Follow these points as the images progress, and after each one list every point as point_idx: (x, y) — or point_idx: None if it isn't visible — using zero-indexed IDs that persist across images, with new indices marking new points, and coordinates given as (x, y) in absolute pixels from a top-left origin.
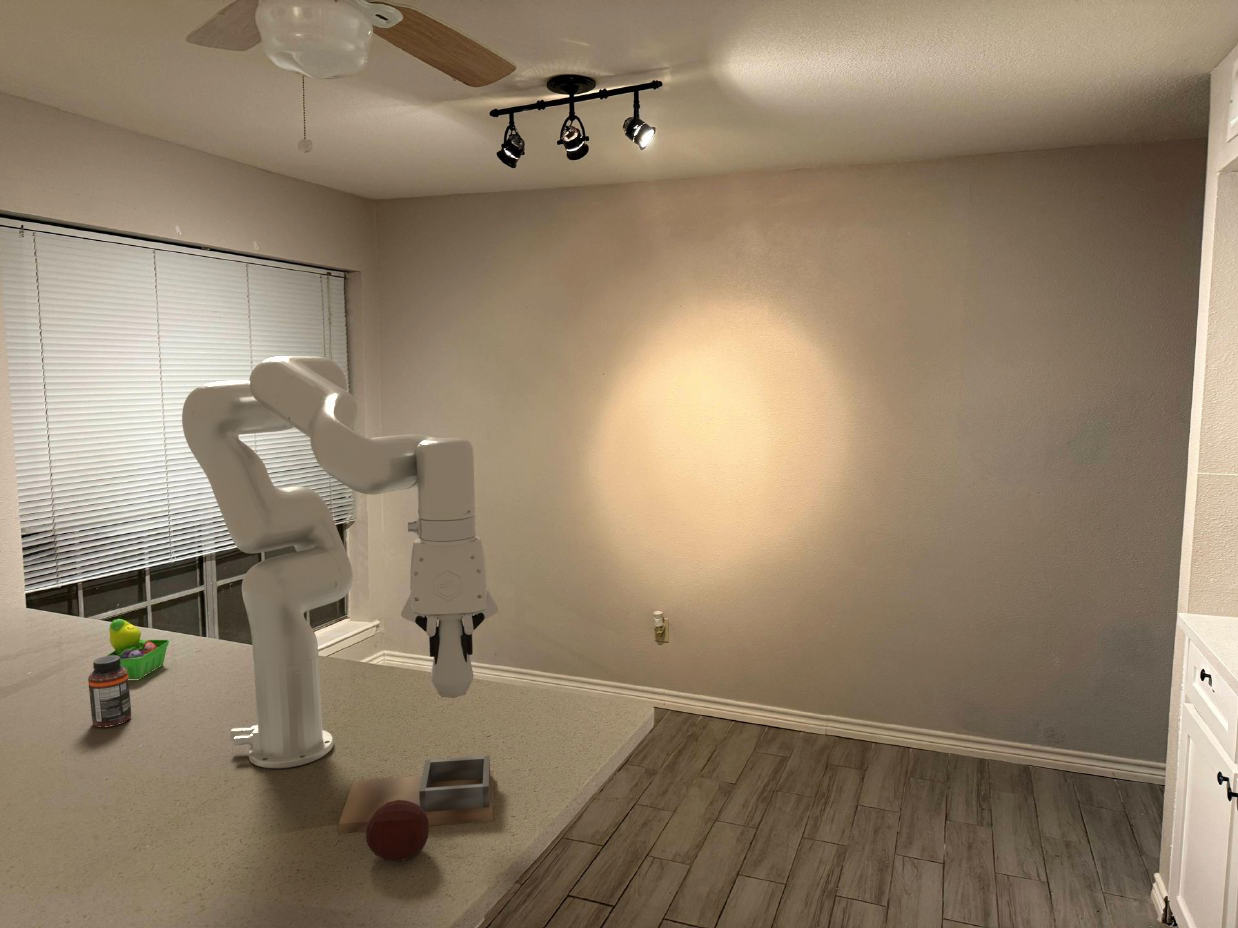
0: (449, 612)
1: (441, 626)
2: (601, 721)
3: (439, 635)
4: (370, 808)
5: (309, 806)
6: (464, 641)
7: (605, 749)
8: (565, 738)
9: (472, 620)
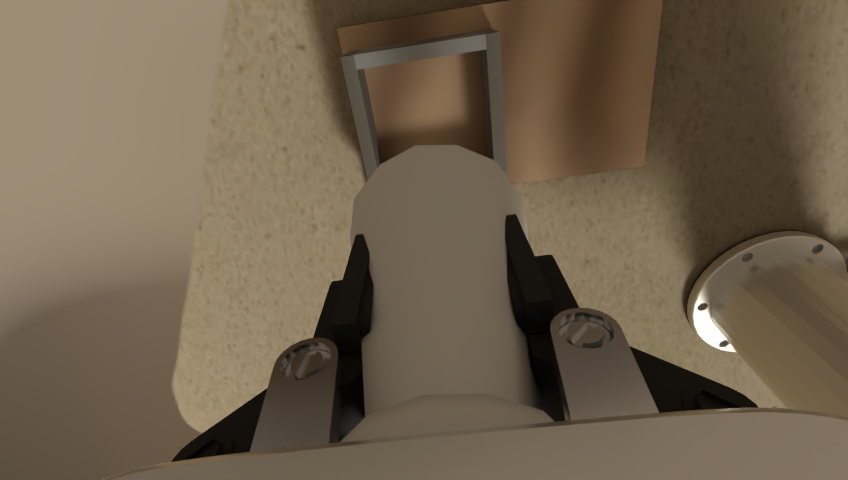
0: (428, 451)
1: (512, 371)
2: (235, 380)
3: (517, 328)
4: (600, 48)
5: (721, 90)
6: (349, 297)
7: (198, 294)
8: (281, 329)
9: (264, 434)
